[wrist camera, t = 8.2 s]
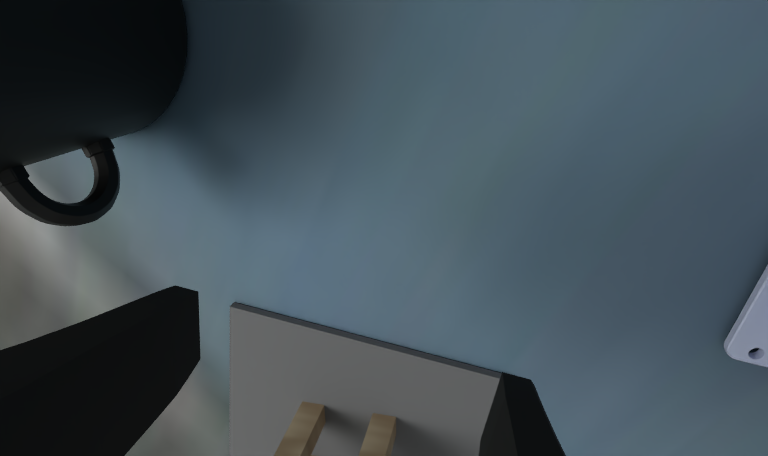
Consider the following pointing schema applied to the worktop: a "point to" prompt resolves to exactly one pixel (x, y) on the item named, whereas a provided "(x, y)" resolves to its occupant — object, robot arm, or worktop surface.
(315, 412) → the stool
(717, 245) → the worktop surface
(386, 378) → the mat
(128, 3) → the mug
